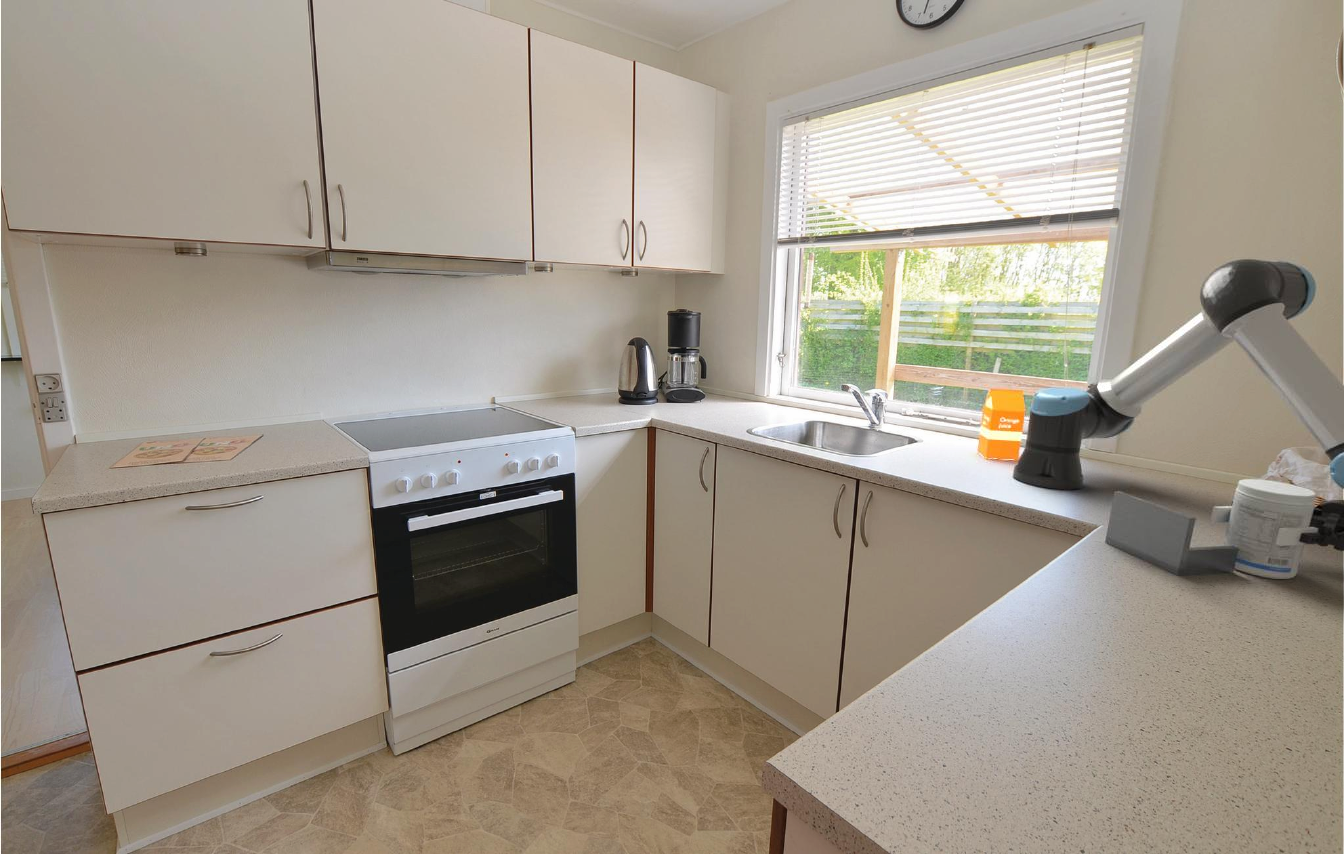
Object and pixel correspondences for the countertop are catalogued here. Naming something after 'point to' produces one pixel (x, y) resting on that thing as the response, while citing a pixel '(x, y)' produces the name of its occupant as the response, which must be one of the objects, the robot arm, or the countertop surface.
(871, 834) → the countertop surface
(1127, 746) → the countertop surface
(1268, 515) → the supplement tub
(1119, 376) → the robot arm
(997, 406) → the orange juice
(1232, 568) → the bracket
